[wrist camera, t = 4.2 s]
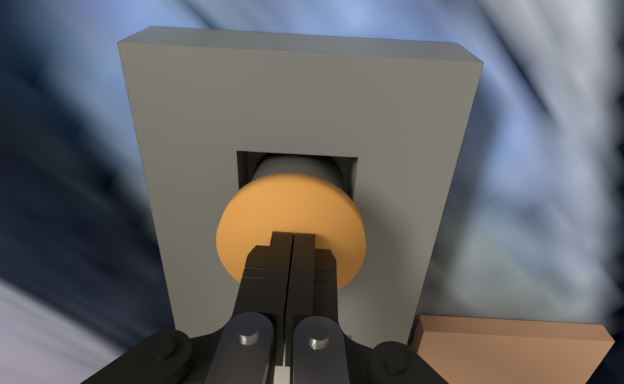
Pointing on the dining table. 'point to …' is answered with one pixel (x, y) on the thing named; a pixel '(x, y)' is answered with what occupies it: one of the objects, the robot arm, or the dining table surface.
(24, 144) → the dining table surface
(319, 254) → the robot arm
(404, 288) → the grey peg board
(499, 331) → the tile
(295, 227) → the plunger
